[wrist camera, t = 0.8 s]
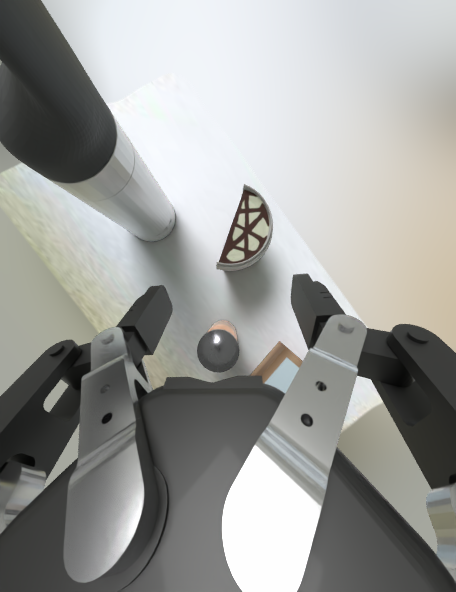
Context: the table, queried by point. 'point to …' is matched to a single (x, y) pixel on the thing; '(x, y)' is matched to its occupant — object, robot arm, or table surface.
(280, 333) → the table surface
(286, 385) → the walnut riser
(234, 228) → the food container
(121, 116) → the table surface
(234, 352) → the terracotta canister
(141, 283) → the table surface
